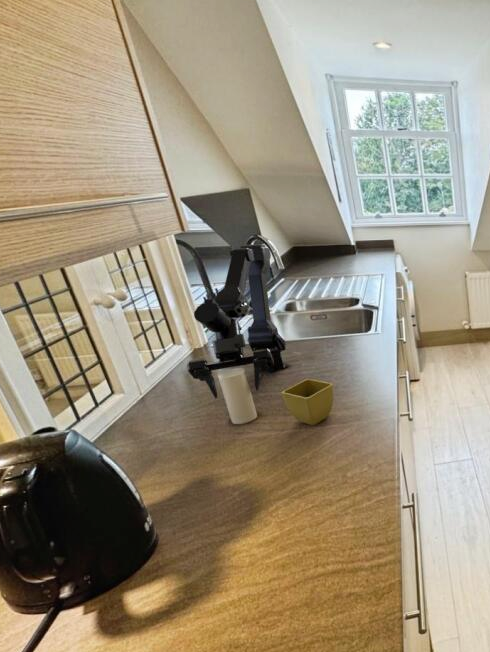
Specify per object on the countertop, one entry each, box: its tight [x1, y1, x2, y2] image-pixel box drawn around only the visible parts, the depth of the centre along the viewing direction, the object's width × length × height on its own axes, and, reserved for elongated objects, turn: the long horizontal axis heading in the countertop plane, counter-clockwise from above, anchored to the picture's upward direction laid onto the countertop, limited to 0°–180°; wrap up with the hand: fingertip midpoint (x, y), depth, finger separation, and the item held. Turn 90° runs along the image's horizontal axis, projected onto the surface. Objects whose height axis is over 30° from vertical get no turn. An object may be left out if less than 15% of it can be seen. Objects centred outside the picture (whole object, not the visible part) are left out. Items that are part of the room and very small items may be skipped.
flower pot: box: [281, 378, 334, 426], centre depth 113 cm, size 9×9×9 cm
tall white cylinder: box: [217, 367, 258, 425], centre depth 115 cm, size 6×6×13 cm
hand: (236, 393), depth 114 cm, fingers open, 9 cm apart
